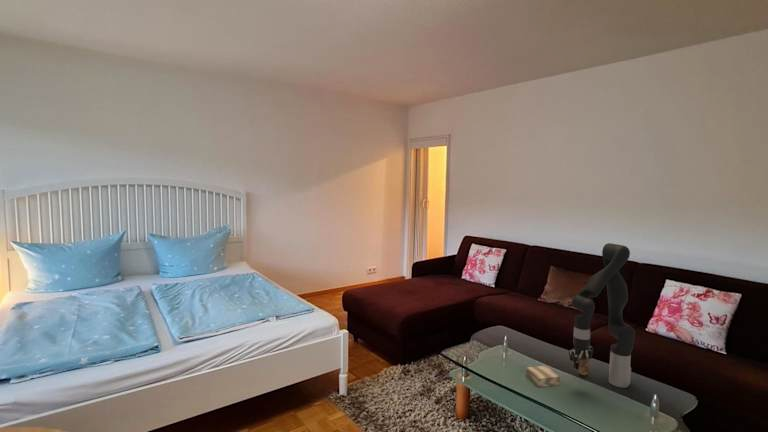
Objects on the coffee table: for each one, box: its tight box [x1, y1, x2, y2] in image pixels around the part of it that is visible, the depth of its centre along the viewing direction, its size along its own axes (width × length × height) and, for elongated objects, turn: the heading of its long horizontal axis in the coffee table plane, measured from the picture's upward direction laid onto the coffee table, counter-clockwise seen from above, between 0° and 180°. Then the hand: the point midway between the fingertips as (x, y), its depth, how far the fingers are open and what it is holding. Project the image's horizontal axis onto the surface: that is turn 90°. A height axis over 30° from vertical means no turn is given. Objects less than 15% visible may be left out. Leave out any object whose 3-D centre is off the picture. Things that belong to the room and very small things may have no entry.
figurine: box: [579, 361, 593, 376], centre depth 215 cm, size 8×6×12 cm
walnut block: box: [572, 355, 590, 374], centre depth 198 cm, size 5×5×7 cm
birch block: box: [525, 365, 561, 388], centre depth 211 cm, size 12×12×5 cm
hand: (580, 367), depth 199 cm, fingers closed on walnut block, 5 cm apart
